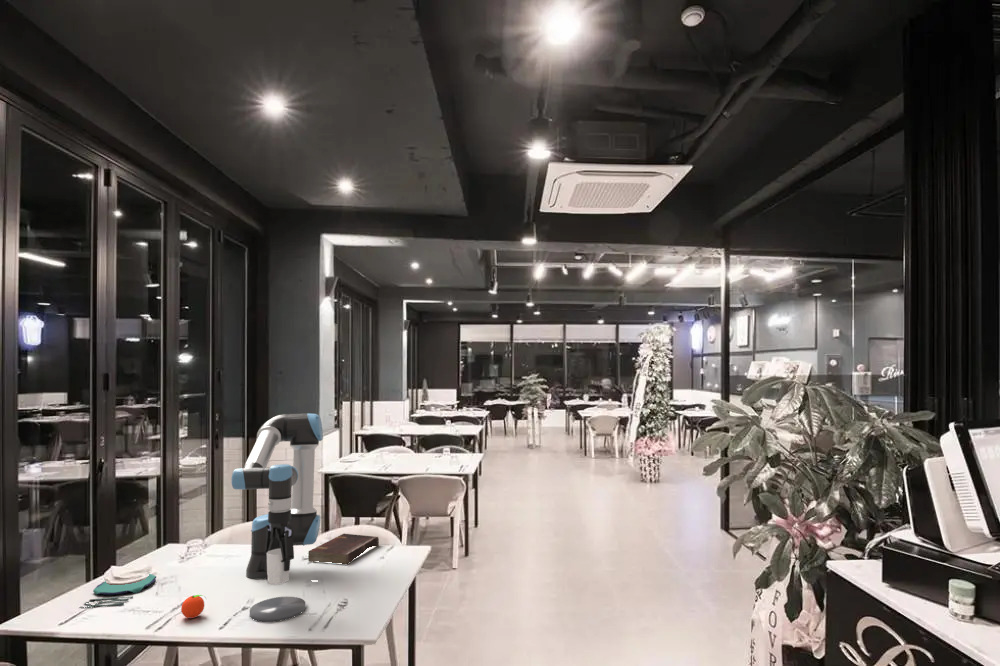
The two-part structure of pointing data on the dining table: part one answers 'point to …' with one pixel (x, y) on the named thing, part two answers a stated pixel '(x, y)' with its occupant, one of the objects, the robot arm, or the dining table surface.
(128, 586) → the cutlery set
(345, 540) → the hardback book
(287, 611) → the slate plate
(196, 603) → the clementine
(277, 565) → the white cup
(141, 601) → the dining table surface
